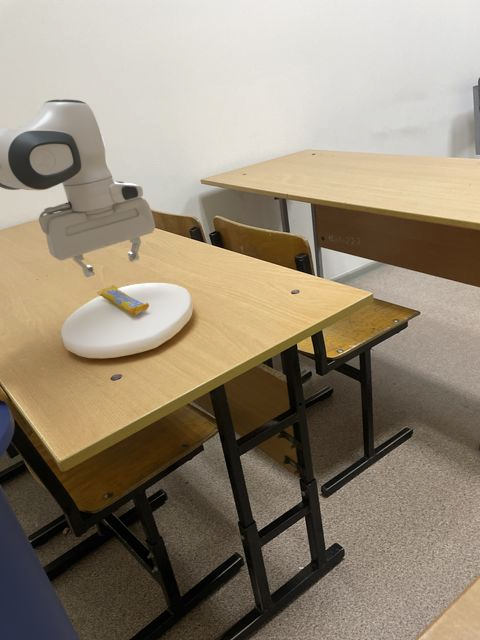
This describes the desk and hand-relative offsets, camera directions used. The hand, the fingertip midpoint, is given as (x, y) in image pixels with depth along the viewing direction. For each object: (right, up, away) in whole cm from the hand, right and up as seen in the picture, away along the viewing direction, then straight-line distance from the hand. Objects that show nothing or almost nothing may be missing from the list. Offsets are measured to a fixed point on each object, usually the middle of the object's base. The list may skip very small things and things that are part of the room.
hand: (112, 268), depth 103 cm
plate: (+2, -12, +7) cm, 14 cm away
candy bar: (+1, -7, +4) cm, 8 cm away
